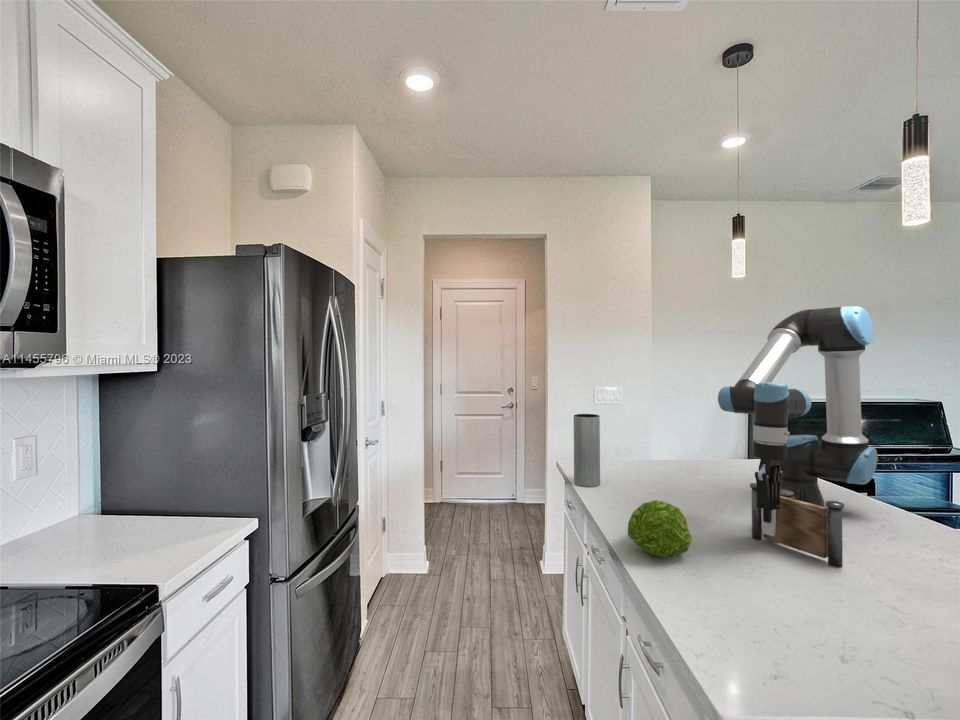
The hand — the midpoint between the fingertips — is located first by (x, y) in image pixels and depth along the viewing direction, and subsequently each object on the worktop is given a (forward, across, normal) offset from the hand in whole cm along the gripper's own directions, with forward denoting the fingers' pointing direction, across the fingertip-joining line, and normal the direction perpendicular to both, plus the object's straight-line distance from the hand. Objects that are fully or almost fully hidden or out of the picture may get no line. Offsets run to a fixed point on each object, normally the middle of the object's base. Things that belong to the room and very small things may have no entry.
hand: (768, 534), depth 124 cm
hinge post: (+4, +2, -14) cm, 14 cm away
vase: (+5, +17, +71) cm, 73 cm away
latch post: (+4, +6, +5) cm, 9 cm away
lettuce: (+5, -18, +19) cm, 27 cm away
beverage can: (+4, +15, +2) cm, 16 cm away
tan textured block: (+4, +8, +1) cm, 9 cm away
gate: (+3, +4, -4) cm, 6 cm away
